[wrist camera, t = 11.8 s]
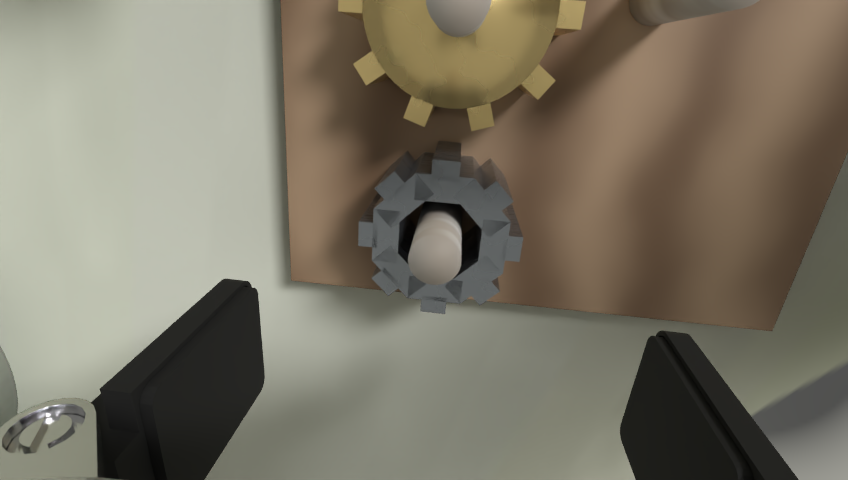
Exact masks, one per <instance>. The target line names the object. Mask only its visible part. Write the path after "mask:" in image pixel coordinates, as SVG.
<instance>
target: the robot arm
mask: <svg viewBox="0 0 848 480" xmlns="http://www.w3.org/2000/svg"><path fill="white" fill-rule="evenodd" d="M263 384H264V363H263V351H262V338H261V326H260V313H259V301H258V292H257V289H255V288H252V287H251V284H250V283H249V282H248V281H241V280H232V279H223V280H222V281H221V282H219V283H218V284H217V285H216V286H215V287H214V288H213V289H212V290H210V291H209V292H208V293H207V294H206V295H205V296H204V297H203V298H201V299H200V300H199V301H198V302H197V303H196V304H195V305H194V306H192V307H191V308H190V309H189V310H188V311H187V312H186V313H185V314H183V315H182V316H181V317H180V318H179V319H178V320H177V321H176V322H174V323H173V324H172V325H171V326H170V327H169V328H168V329H167V330H165V331H164V332H163V333H162V334H161V335H160V336H159V337H158V338H156V339H155V340H154V341H153V342H152V343H151V344H150V345H149V346H148V347H146V348H145V349H144V350H143V351H142V352H141V353H140V354H139V355H137V356H136V357H135V358H134V359H133V360H132V361H131V362H130V363H128V364H127V365H126V366H125V367H124V368H123V369H122V370H121V371H119V372H118V373H117V374H116V375H115V376H114V377H113V378H112V379H110V380H109V381H108V382H107V383H106V384H105V385H104V386H103V387H101V388H100V392H101V394H100V395H99V396H98V397H97V398H96V399H95V400H93V401H92V402H91V403H90V402H89V401H87V400H83V399H79V398H62V399H57V400H52V401H48V402H45V403H42V404H39V405H36V406H33V407H31V408H29V409H27V410H25V411H23V412H21V413H19V414H17V415H16V416H15V417H13V418H12V419H10V420H9V421H8V422H6V423H5V424H4V425H3V426H2V427H1V428H0V480H204V479H205V478H206V476H207V475H208V473H209V471H210V470H211V468H212V467H213V465H214V464H215V462H216V461H217V459H218V457H219V456H220V454H221V453H222V451H223V450H224V448H225V446H226V445H227V443H228V442H229V440H230V439H231V437H232V436H233V434H234V432H235V431H236V429H237V428H238V426H239V425H240V423H241V421H242V420H243V418H244V417H245V415H246V414H247V412H248V411H249V409H250V407H251V406H252V404H253V403H254V401H255V400H256V398H257V396H258V395H259V393H260V392H261V390H262V387H263ZM620 435H621V441H622V444H623V446H624V449H625V452H626V454H627V457H628V460H629V462H630V465H631V468H632V471H633V473H634V476H635V479H636V480H798V478H797V477H796V476H795V474H794V473H793V472H792V471H791V469H790V468H789V466H788V465H787V464H786V462H785V461H784V460H783V458H782V457H781V456H780V454H779V453H778V452H777V450H776V449H775V448H774V446H773V445H772V444H771V442H770V441H769V440H768V438H767V437H766V436H765V435H764V433H763V432H762V430H761V429H760V428H759V426H758V425H757V424H756V422H755V421H754V420H753V419H752V417H751V416H750V414H749V413H748V412H747V411H746V409H745V408H744V407H743V405H742V404H741V403H740V401H739V400H738V399H737V397H736V396H735V395H734V393H733V392H732V391H731V389H730V388H729V387H728V385H727V384H726V383H725V381H724V380H723V379H722V377H721V376H720V375H719V373H718V372H717V371H716V369H715V368H714V367H713V365H712V364H711V363H710V361H709V360H708V359H707V357H706V356H705V355H704V353H703V352H702V351H701V349H700V348H699V347H698V345H697V344H696V343H695V341H694V340H693V339H692V337H691V336H690V335H688V334H685V333H676V332H668V331H660V332H658V333H657V335H656V336H651V337H649V339H648V341H647V344H646V347H645V350H644V353H643V356H642V359H641V363H640V366H639V369H638V372H637V375H636V378H635V381H634V385H633V388H632V391H631V394H630V397H629V400H628V404H627V407H626V410H625V413H624V416H623V419H622V422H621V427H620Z"/></svg>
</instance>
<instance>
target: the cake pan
mask: <svg viewBox="0 0 848 480" xmlns="http://www.w3.org/2000/svg"><path fill="white" fill-rule="evenodd" d="M17 408H18V398H17V390H16V385H15V381H14V377H13V374H12V371H11V368H10V365H9V363H8V361H7V359H6V356H5V354H4V352H3V350H2V348H1V347H0V428H1V427H2V426H3V425H4V424H5V423H6V422H8V421H9V420H10V419H12V418H13V417H15V416H16V415H17Z"/></svg>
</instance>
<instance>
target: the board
mask: <svg viewBox="0 0 848 480" xmlns="http://www.w3.org/2000/svg"><path fill="white" fill-rule="evenodd" d="M280 1H281V27H282V54H283V80H284V106H285V132H286V158H287V184H288V210H289V236H290V262H291V280H292V281H301V282H311V283H320V284H330V285H339V286H348V287H358V288H367V289H377V290H382V289H381V288H380V287H379V286H378V285H377V284H376V283H375V282H374V280H373V279H372V276H373V273H374V271H375V269H376V266H377V265H376V264H375V263H374V262H373V261H372V247H365V246H358V234H359V220H360V219H361V217H362V216H363V214H364V213H365V211H366V210H367V208H368V207H369V205H370V204H371V202H372V201H373V199H374V198H375V196H376V194H377V193H378V192H377V191H376V190H375V189H374V188H375V187H376V186H377V184H378V183H379V181H380V180H381V179H382V177H383V176H384V174H385V173H386V171H387V170H388V169H389V167H390V166H391V165H392V164H393V163H394V162H395V161H396V160H397V159H399V158H400V157H401V156H402V155H403V154H404V153H405V152H407V151H408V152H409V153H410V154H411V155H412V156H413V158H414V159H415V160H416V159H417V158H419V157H420V156H421V155H422V154H423V153H425V152H430V153H435V150H436V147H437V144H438V141H447V142H458V143H461V155H463V156H473V157H474V159H475V160H476V161H477V162H478V163H479V165H480V166H481V165H482V164H484V163H485V162H486V161H487V160H489V159H490V158H491V159H492V161H493V162H494V163H495V164H496V166H497V167H498V168H499V169H500V171H501V172H502V173H503V174H504V176H505V179H506V182H507V184H508V187H509V190H510V193H511V195H512V198H513V201H514V202H513V203H511V204H510V205H513V208H514V211H515V214H516V217H517V220H518V223H519V226H520V229H521V232H522V235H523V243H522V249H521V255H520V261H519V262H515V261H505V263H504V270H503V274H502V275H500V276H499V277H498V282H499V289H500V292H499V293H497V294H496V295H494V296H493V297H491V298H490V299H488V300H487V301H491V302H500V303H510V304H519V305H529V306H538V307H548V308H557V309H567V310H576V311H586V312H595V313H605V314H614V315H624V316H633V317H643V318H652V319H662V320H671V321H681V322H690V323H700V324H709V325H718V326H728V327H737V328H747V329H756V330H766V331H772V330H773V328H774V325H775V323H776V321H777V318H778V316H779V314H780V311H781V309H782V306H783V304H784V302H785V299H786V297H787V295H788V292H789V290H790V287H791V285H792V283H793V280H794V278H795V276H796V273H797V271H798V268H799V266H800V264H801V261H802V259H803V257H804V254H805V252H806V250H807V247H808V245H809V242H810V240H811V238H812V235H813V233H814V231H815V228H816V226H817V223H818V221H819V219H820V216H821V214H822V212H823V209H824V207H825V204H826V202H827V200H828V197H829V195H830V193H831V190H832V188H833V185H834V183H835V181H836V178H837V176H838V174H839V171H840V169H841V166H842V164H843V162H844V159H845V157H846V155H847V152H848V0H577V1H586V5H585V10H584V16H583V21H582V26H581V30H578V31H575V32H571V33H567V34H564V35H560V36H554V35H553V37H552V40H551V43H550V45H549V47H548V49H547V51H546V53H545V55H544V56H543V58H542V59H541V61H540V62H539V65H540V66H541V67H542V68H543V69H544V70H545V71H546V72H547V73H548V74H549V75H551V76H552V77H553V78H554V79H555V80H556V81H555V82H554V83H553V84H552V85H551V86H550V87H549V88H548V90H547V91H546V92H545V93H544V94H543V95H542V96H541V97H540V98H539V99H538V100H537V99H535V98H533V97H531V96H529V95H527V94H525V93H524V92H523V91H522V90H521V89H520V88H519V87H516V88H515V89H514V90H512V91H511V92H510V93H508V94H507V95H505V96H503V97H501V98H499V99H498V100H495V101H493V102H490V104H491V109H492V115H493V120H494V126H492V127H487V128H483V129H479V130H475V131H471V126H470V121H469V116H468V111H467V108H464V109H450V108H443V107H437V106H435V108H434V111H433V113H432V115H431V117H430V119H429V121H428V122H427V124H426V126H425V127H423V126H421V125H419V124H416V123H414V122H412V121H409V120H407V119H405V118H403V117H404V115H405V112H406V109H407V107H408V104H409V101H410V99H411V95H409V94H408V93H406V92H405V91H404V90H402V89H401V88H400V87H399V86H397V85H396V84H395V83H394V82H393V81H392V80H391V79H390V77H389V78H388V79H386V80H385V81H383V82H379V83H375V84H371V85H367V86H366V84H365V83H364V81H363V79H362V78H361V76H360V75H359V73H358V71H357V70H356V68H355V67H354V65H353V64H354V63H355V62H357V61H358V60H359V59H361V58H362V57H364V56H365V55H367V54H368V53H369V52H371V51H372V49H371V47H370V44H369V42H368V39H367V35H366V31H365V28H364V22H363V21H361V20H358V19H356V18H353V17H351V16H349V15H346V14H344V13H341V12H339V11H338V0H280ZM426 5H427V9H428V12H429V14H430V16H431V18H432V20H433V21H434V22H435V24H436V25H437V27H438V28H439V29H440V30H441V31H442V32H444V33H445V34H447V35H449V36H452V37H465V36H468V35H470V34H472V33H474V32H475V31H476V30H477V29H478V28H479V27H480V26H481V25H482V23H483V21H484V19H485V17H486V15H487V13H488V11H489V9H490V5H491V0H426ZM410 220H411V221H412V222H413V223H414V224H415V226H416V231H415V234H414V238H413V241H412V245H411V248H410V252H409V255H408V265H409V268H410V270H411V272H412V273H413V275H414V276H415V277H416V278H417V279H419V280H420V281H422V282H424V283H427V284H431V285H440V284H444V283H447V282H449V281H450V280H452V279H453V278H454V277H455V276H456V275H457V274H458V272H459V270H460V267H461V241H462V235H463V234H465V233H466V232H467V231H469V230H470V229H471V228H473V227H474V226H475V225H476V222H475V221H474V220H473V219H472V217H471V216H470V215H469V214H468V213H467V212H466V210H465V209H464V208H463V207H462V206H461V205H460V204H452V203H442V202H431V201H425V202H424V203H422V204H421V205H420V206H419V207H417V208H416V209H415V210H414V211H412V212H411V213H410ZM395 291H396V292H401V291H400V290H399V288H398V289H397V290H395ZM467 299H472V300H474V299H473V297H472V296H470V297H469V298H467Z"/></svg>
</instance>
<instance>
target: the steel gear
mask: <svg viewBox="0 0 848 480" xmlns="http://www.w3.org/2000/svg"><path fill="white" fill-rule="evenodd" d="M374 189H375V190H376V191H377V192H378V193H377V194H376V196H375V198H374V199H373V201H372V202H371V204H370V205H369V207H368V208H367V210H366V211H365V213H364V214H363V216H362V217H361V219H360V220H359V234H358V246H365V247H372V261H373V262H374V263H375V264H376V265H377V266H376V269H375V271H374V273H373V276H372V279H373V280H374V282H375V283H376V284H377V285H378V286H379V287H380V288H381V289H382V290H383V291H384V292H385V293H386V294H387V295H388V296H389V295H390V294H391V293H393V292H394V291H395V290H397V289H398V288H399V290H400V291H401V292H402V293H403V294H404V295H405V296H406V297H407V298H412V299H421V309H420V311H422V312H432V313H441V314H445V309H446V302H451V303H462V302H463V301H464V300H466V299H467V298H469V297H470V296H472V297H473V299H474V300H475V301H476V302H477V303H478V304H479V305H481V304H482V303H484V302H485V301H487V300H488V299H490V298H491V297H493V296H494V295H496V294H497V293H499V292H500V289H499V282H498V277H499V276H500V275H502V274H503V270H504V263H505V261H515V262H519V261H520V255H521V249H522V243H523V235H522V232H521V229H520V226H519V223H518V220H517V217H516V214H515V211H514V208H513V205H510V204H511V203H513V202H514V201H513V198H512V195H511V193H510V190H509V187H508V184H507V182H506V179H505V176H504V174H503V173H502V172H501V171H500V169H499V168H498V167H497V166H496V164H495V163H494V162H493V161H492V159H491V158H490V159H489V160H487V161H486V162H485V163H484V164H482V165H481V166H480V165H479V163H478V162H477V161H476V160H475V159H474V157H473V156H463V155H461V143H458V142H447V141H438V144H437V147H436V150H435V153H430V152H425V153H423V154H422V155H421V156H420V157H419V158H417V159H416V160H415V159H414V158H413V156H412V155H411V154H410V153H409V152H408V151H407V152H405V153H404V154H403V155H402V156H401V157H400V158H399V159H397V160H396V161H395V162H394V163H393V164H392V165H391V166H390V167H389V169H388V170H387V171H386V173H385V174H384V176H383V177H382V179H381V180H380V181H379V183H378V184H377V186H376V187H375V188H374ZM425 201H431V202H442V203H452V204H460V205H461V206H462V207H463V208H464V209H465V210H466V212H467V213H468V214H469V215H470V216H471V217H472V219H473V220H474V221H475V222H476V225H475V226H474V227H473V228H471V229H470V230H469V231H467V232H466V233H465V234H463V235H462V241H461V267H460V270H459V272H458V274H457V275H456V276H455V277H454V278H453V279H452V280H450V281H449V282H447V283H444V284H440V285H431V284H427V283H424V282H422V281H420V280H419V279H417V278H416V277H415V276H414V275H413V273H412V272H411V270H410V268H409V265H408V255H409V252H410V248H411V245H412V241H413V238H414V234H415V231H416V226H415V224H414V223H413V222H412V221H411V220H410V213H411V212H412V211H414V210H415V209H416V208H417V207H419V206H420V205H421V204H422V203H424V202H425Z"/></svg>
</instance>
